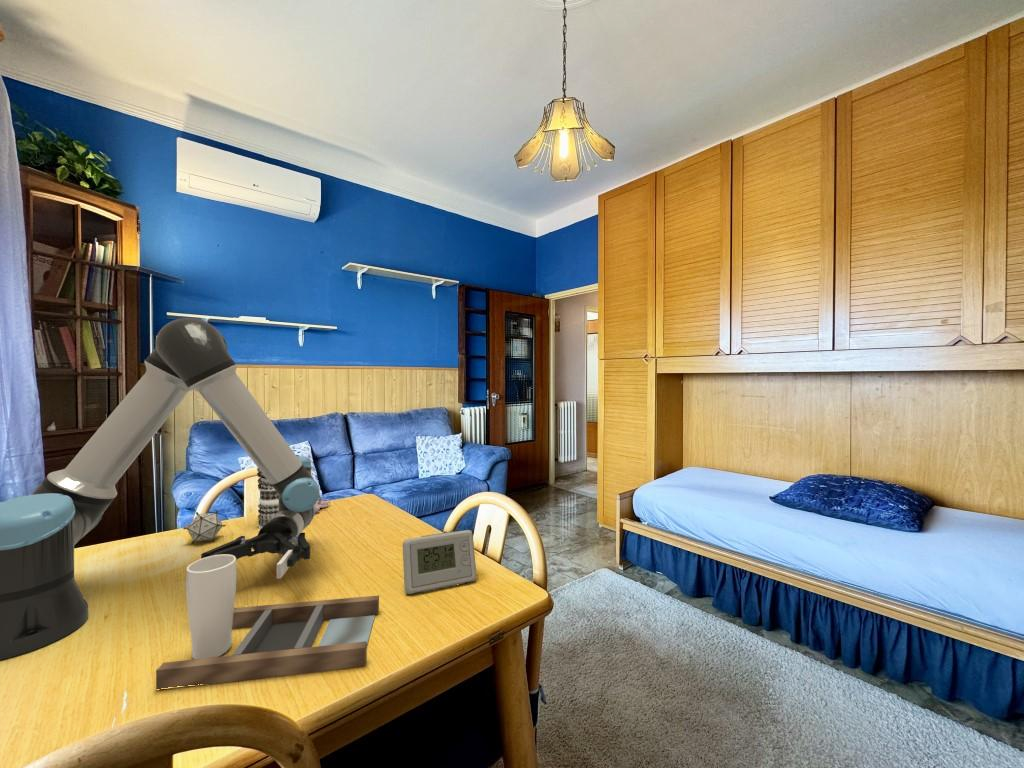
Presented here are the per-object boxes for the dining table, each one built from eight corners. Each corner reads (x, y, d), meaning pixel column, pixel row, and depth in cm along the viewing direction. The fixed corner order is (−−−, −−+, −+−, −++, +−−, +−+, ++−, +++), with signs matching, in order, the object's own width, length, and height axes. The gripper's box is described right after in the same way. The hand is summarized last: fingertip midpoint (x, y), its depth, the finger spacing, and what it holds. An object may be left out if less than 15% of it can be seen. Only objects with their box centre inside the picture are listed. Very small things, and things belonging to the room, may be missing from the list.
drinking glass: (217, 667, 64) (217, 572, 64) (174, 666, 64) (174, 572, 64) (246, 639, 71) (246, 554, 70) (207, 638, 71) (207, 553, 70)
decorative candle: (297, 519, 129) (297, 441, 129) (281, 530, 120) (281, 446, 120) (268, 519, 129) (268, 441, 128) (250, 530, 120) (250, 446, 119)
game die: (206, 556, 111) (196, 536, 105) (182, 543, 112) (171, 522, 106) (235, 531, 118) (228, 510, 112) (212, 518, 119) (204, 497, 113)
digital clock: (401, 597, 84) (401, 547, 84) (403, 576, 93) (403, 531, 93) (478, 589, 88) (479, 541, 88) (473, 570, 96) (474, 526, 96)
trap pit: (232, 674, 62) (231, 655, 62) (265, 626, 74) (265, 610, 74) (302, 666, 64) (301, 647, 64) (323, 620, 76) (323, 604, 76)
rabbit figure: (318, 509, 144) (289, 516, 129) (319, 492, 145) (291, 497, 130) (334, 510, 143) (307, 517, 128) (336, 493, 144) (309, 498, 129)
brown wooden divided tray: (156, 690, 59) (156, 670, 59) (214, 625, 74) (214, 609, 74) (364, 666, 64) (364, 647, 64) (378, 610, 79) (378, 595, 79)
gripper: (337, 543, 99) (310, 588, 78) (222, 550, 94) (162, 600, 73) (337, 512, 98) (310, 549, 78) (222, 518, 94) (162, 559, 73)
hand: (238, 574), depth 75 cm, fingers open, 13 cm apart
